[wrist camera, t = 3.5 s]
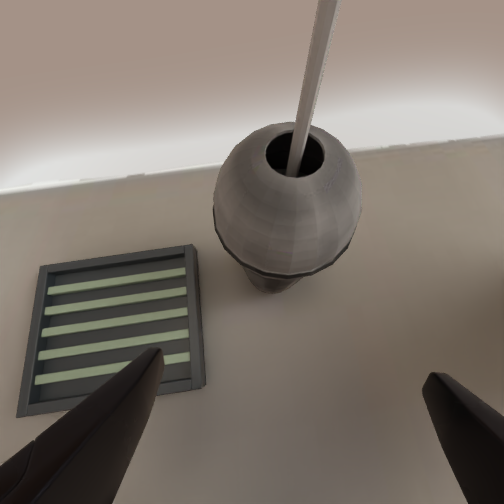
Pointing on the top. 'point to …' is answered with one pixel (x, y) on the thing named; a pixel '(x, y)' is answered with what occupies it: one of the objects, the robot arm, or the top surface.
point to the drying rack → (112, 325)
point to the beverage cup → (290, 187)
